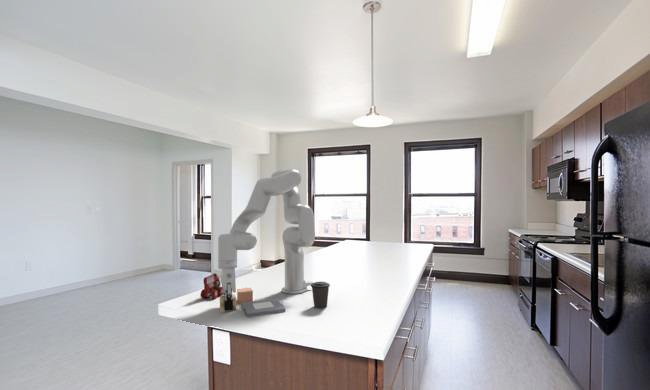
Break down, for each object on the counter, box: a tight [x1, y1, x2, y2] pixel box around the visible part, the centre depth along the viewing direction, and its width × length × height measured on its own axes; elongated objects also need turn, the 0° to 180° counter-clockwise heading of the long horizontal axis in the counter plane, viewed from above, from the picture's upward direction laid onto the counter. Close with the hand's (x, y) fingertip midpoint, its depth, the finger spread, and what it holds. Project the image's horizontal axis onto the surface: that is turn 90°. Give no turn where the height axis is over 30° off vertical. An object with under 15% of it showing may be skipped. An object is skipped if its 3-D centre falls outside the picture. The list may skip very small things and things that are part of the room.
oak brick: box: [219, 293, 237, 313], centre depth 130 cm, size 6×6×5 cm
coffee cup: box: [310, 281, 331, 310], centre depth 132 cm, size 8×8×10 cm
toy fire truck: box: [200, 272, 223, 300], centre depth 148 cm, size 7×12×10 cm, turn 168°
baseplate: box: [241, 297, 286, 318], centre depth 130 cm, size 15×15×1 cm
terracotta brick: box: [236, 287, 254, 305], centre depth 141 cm, size 6×6×5 cm
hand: (227, 306), depth 130 cm, fingers open, 6 cm apart
